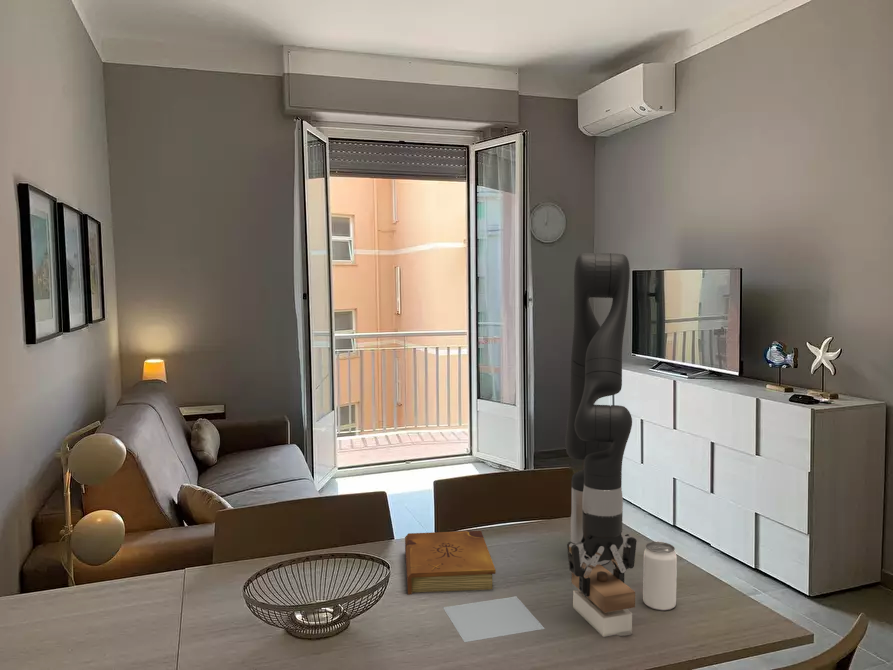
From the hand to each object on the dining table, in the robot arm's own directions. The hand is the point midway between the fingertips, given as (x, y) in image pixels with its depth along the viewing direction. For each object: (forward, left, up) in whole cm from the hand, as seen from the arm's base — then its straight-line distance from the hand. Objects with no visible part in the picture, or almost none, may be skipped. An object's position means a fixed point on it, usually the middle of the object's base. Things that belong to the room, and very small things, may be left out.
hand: (601, 591), depth 131 cm
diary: (-31, -22, -7) cm, 39 cm away
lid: (0, 0, 0) cm, 0 cm away
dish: (0, 0, -6) cm, 6 cm away
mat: (-7, -20, -6) cm, 22 cm away
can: (-3, +15, -6) cm, 16 cm away
